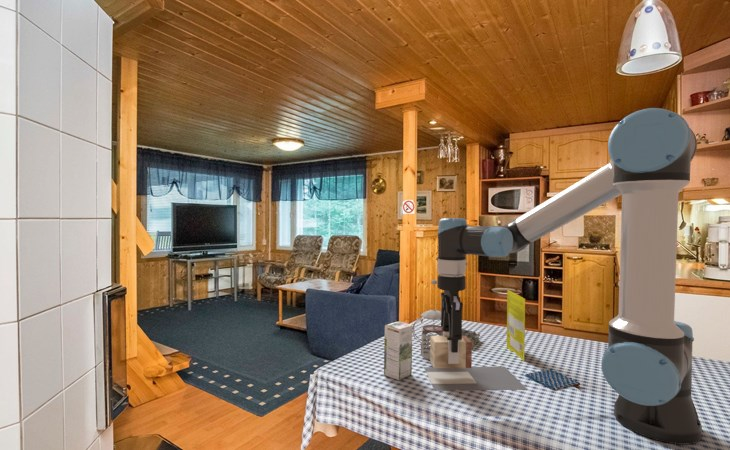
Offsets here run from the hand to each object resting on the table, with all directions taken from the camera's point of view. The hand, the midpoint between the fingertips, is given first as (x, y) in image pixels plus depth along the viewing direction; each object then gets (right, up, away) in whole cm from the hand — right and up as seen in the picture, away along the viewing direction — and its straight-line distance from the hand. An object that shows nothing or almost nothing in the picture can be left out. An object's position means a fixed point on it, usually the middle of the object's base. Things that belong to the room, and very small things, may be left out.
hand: (450, 358), depth 105 cm
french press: (-2, -6, +17) cm, 18 cm away
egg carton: (+13, -6, +32) cm, 35 cm away
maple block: (0, -2, 0) cm, 2 cm away
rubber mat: (+6, -6, 0) cm, 9 cm away
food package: (+25, -6, +20) cm, 33 cm away
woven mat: (+27, -7, -1) cm, 28 cm away
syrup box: (-14, -6, +4) cm, 16 cm away
